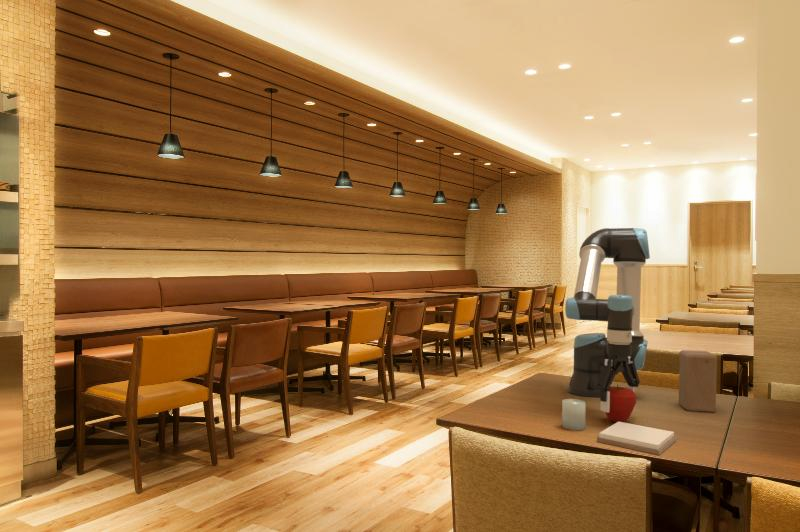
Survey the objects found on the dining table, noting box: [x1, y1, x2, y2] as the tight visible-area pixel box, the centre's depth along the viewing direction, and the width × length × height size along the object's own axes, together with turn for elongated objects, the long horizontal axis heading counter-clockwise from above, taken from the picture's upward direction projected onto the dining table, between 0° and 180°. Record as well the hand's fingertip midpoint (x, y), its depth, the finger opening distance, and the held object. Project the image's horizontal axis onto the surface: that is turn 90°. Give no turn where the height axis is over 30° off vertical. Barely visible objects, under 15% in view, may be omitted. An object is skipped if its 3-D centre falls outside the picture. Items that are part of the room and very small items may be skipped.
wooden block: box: [678, 349, 718, 413], centre depth 207 cm, size 10×10×20 cm
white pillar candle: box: [561, 398, 587, 431], centre depth 181 cm, size 7×7×8 cm
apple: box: [599, 384, 637, 423], centre depth 188 cm, size 11×11×12 cm
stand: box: [596, 421, 677, 456], centre depth 168 cm, size 17×17×2 cm
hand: (617, 409), depth 188 cm, fingers open, 13 cm apart
